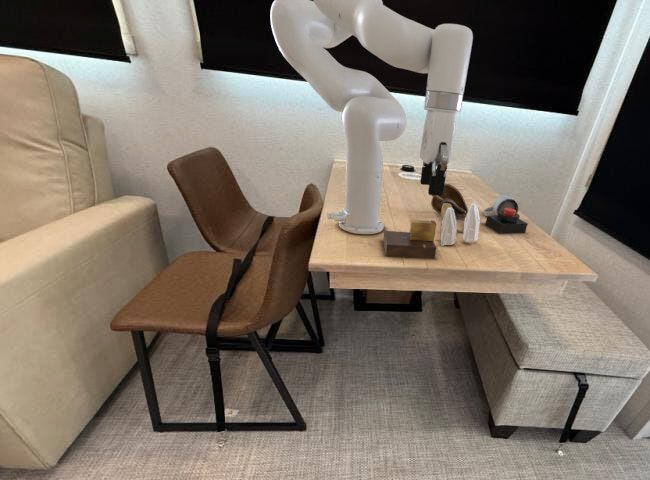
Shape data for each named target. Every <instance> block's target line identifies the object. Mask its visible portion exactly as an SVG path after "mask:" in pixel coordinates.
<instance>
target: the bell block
mask: <svg viewBox="0 0 650 480" xmlns="http://www.w3.org/2000/svg"><path fill="white" fill-rule="evenodd" d="M503 212H504V211H499V212H498V215H488V216H486V219H485V224H484V226H486V227H487V228H489V229H491V230H493V231H494V232H496V233H497V234H499V235H506V234H507V235H508V234H526V231H527V228H528V225H529V223H528V222H526V221H524V220H522V219H520V217H521V216H520V214H519V213H515V216H508V215H505V214H503Z"/></svg>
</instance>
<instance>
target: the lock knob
mask: <svg viewBox="0 0 650 480" xmlns="http://www.w3.org/2000/svg"><path fill="white" fill-rule="evenodd" d="M436 230H437V222H436V221H435V220H431V219H430V220H419V219H410V226H409V232H410V234H409V238H410V240H421V241H433V242H435V235H436Z"/></svg>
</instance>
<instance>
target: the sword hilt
mask: <svg viewBox="0 0 650 480" xmlns="http://www.w3.org/2000/svg"><path fill="white" fill-rule="evenodd" d="M430 206H431V207H432V209H433V210H434V211H435V212H436V213H437V214H439V215H441V220H443V219H444V216H445V213H446V211H447V209H448V208H451V207H452V208H453V210H454V213H455V217H456V218H461V219H465V218H466V215H467V213H468V210H469V207H468V205H467V203H466V201H465V198H464V196H463V194H462V193H461V192H460V190H459V189H458V188H457V187H456V186H454V185H452V184H451V183H446V182H445V185H444V191H443V195H442V196H437V195H431V201H430ZM441 228H442V222H441V223H440V229H441ZM456 233H464V229H459V228H457V231H456Z"/></svg>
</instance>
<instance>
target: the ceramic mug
mask: <svg viewBox="0 0 650 480" xmlns="http://www.w3.org/2000/svg"><path fill="white" fill-rule="evenodd" d="M505 208H511V209H514V210H516V213H517V214H519V211H520V205H519V202H518V201H517V200H516V199H514V198H513V197H512V196H510V195H507V194H502V195H499V196H498V197H496V198H495V199H494V201H493V204H492V206H489V207H487V208H485V209H484V210H483V215H484V216H485V217H487V216H488V215H498V212H499V211H504V209H505Z"/></svg>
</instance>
